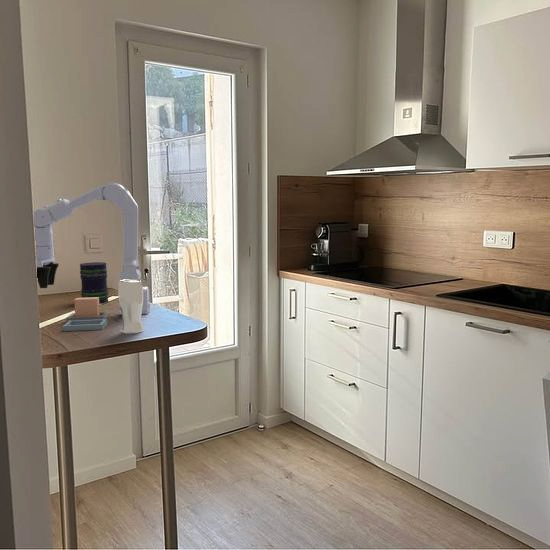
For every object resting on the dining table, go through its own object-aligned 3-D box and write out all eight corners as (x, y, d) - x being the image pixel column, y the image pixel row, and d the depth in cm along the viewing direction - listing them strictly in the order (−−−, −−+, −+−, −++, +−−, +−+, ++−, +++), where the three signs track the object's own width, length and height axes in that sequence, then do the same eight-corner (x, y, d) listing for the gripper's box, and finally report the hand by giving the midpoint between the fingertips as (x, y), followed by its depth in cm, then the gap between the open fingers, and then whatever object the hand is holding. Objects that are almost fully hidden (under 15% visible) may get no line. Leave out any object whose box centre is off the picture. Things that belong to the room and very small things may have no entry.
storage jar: (101, 304, 208) (99, 265, 206) (76, 304, 210) (74, 265, 208) (113, 300, 218) (111, 262, 216) (89, 300, 219) (87, 262, 218)
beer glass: (135, 327, 167) (132, 278, 165) (149, 330, 163) (147, 280, 161) (115, 332, 162) (112, 281, 160) (129, 335, 158) (127, 282, 156)
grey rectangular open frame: (108, 316, 186) (108, 311, 186) (103, 321, 178) (103, 316, 178) (72, 317, 184) (72, 313, 184) (66, 322, 177) (66, 317, 176)
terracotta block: (100, 318, 183) (98, 297, 182) (97, 320, 180) (96, 298, 179) (78, 318, 182) (76, 297, 182) (75, 321, 179) (74, 299, 178)
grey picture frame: (107, 323, 174) (107, 319, 173) (102, 329, 166) (102, 324, 166) (69, 325, 172) (69, 320, 172) (62, 331, 164) (62, 326, 164)
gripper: (38, 244, 192) (41, 283, 194) (24, 247, 178) (27, 290, 179) (59, 244, 193) (62, 283, 194) (47, 247, 178) (50, 289, 180)
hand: (47, 286), depth 187 cm, fingers open, 7 cm apart
